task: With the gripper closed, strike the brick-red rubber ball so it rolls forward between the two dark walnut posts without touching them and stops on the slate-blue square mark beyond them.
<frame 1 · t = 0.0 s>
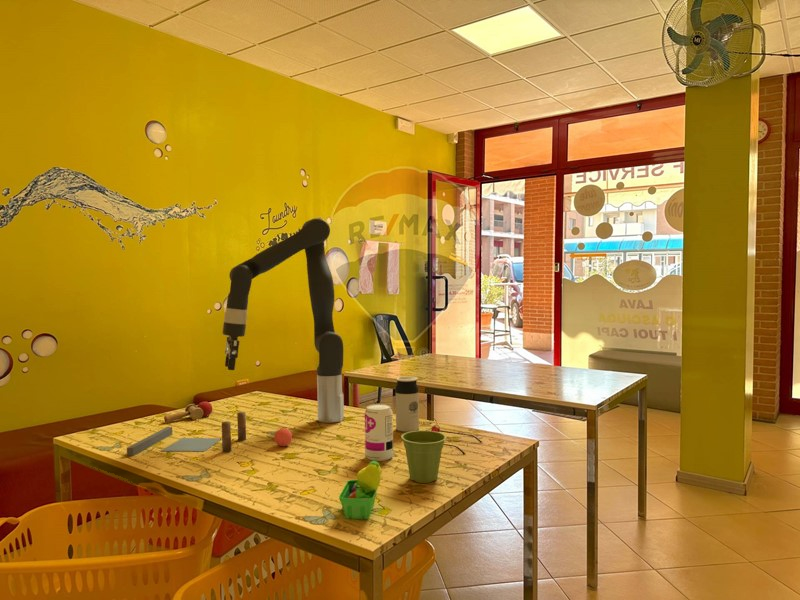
hand: (229, 368, 194), 22 cm above the table, tool pointing down, fingers open, 8 cm apart
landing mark: (192, 444, 180), on the table
gate post 1: (226, 451, 172), on the table
glasses: (450, 447, 175), on the table
supplement can: (379, 458, 164), on the table
ball: (283, 437, 177), on the table
fruit basket: (362, 511, 126), on the table
plant pot: (424, 479, 146), on the table
gate post 2: (242, 439, 185), on the table
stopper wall: (151, 444, 181), on the table
kendama: (189, 420, 214), on the table
travel mug: (407, 429, 195), on the table
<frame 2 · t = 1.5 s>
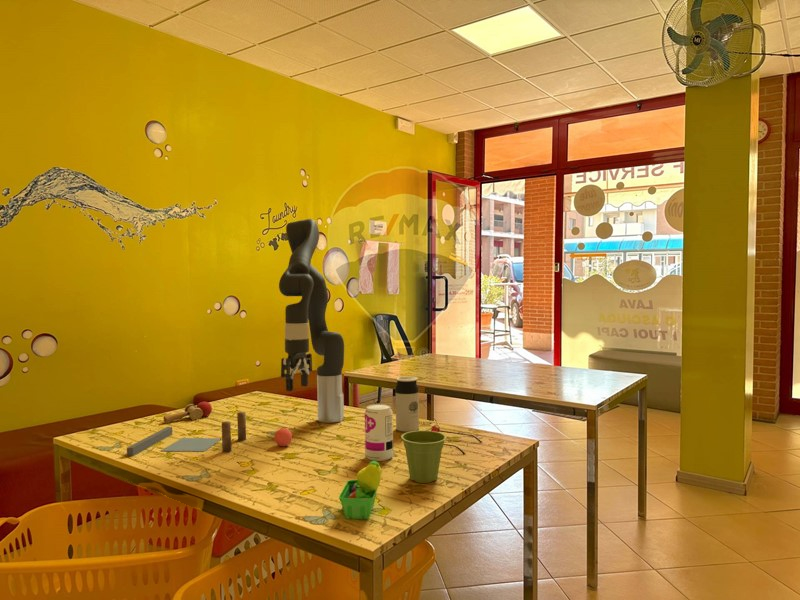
hand: (297, 388, 176), 18 cm above the table, tool pointing down, fingers open, 8 cm apart
nothing on the table moved.
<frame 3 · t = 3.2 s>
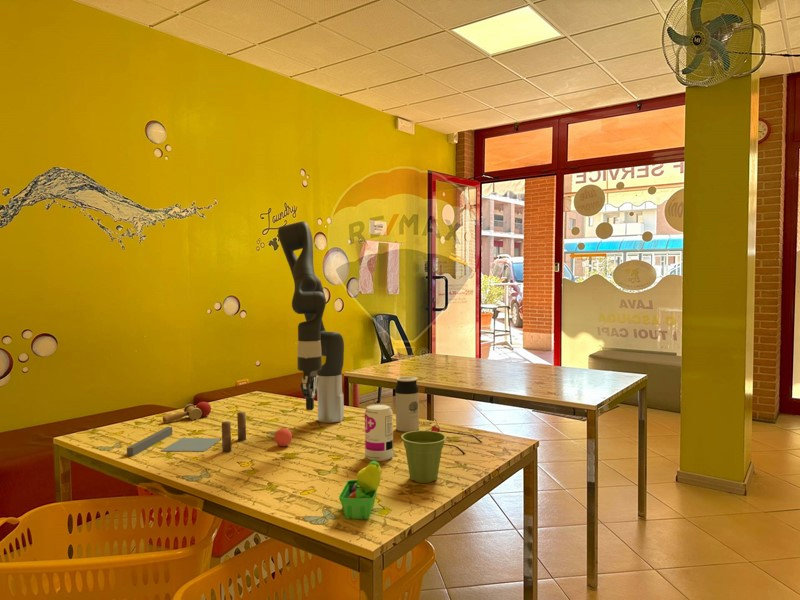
hand: (310, 409, 176), 12 cm above the table, tool pointing down, fingers closed
nothing on the table moved.
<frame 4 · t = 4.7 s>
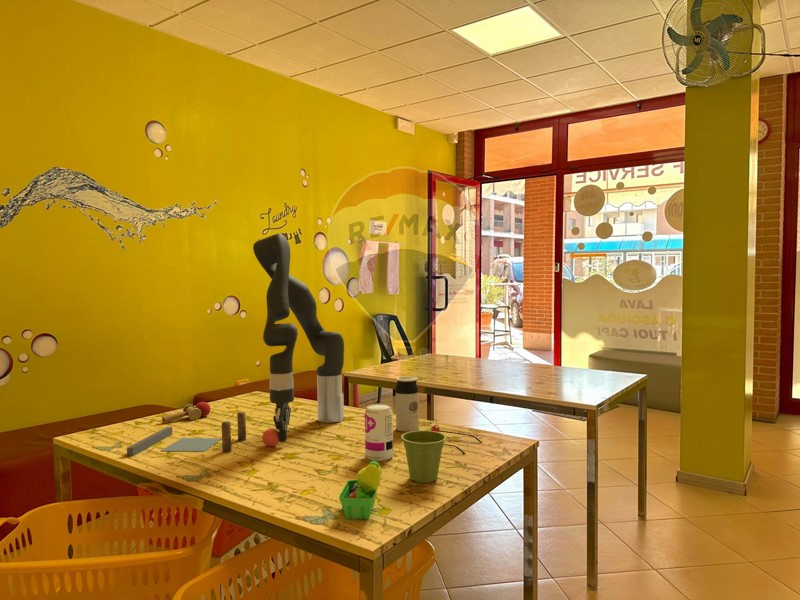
hand: (283, 441, 176), 2 cm above the table, tool pointing down, fingers closed
ball: (271, 437, 177), on the table, touching gripper
everything else where it was.
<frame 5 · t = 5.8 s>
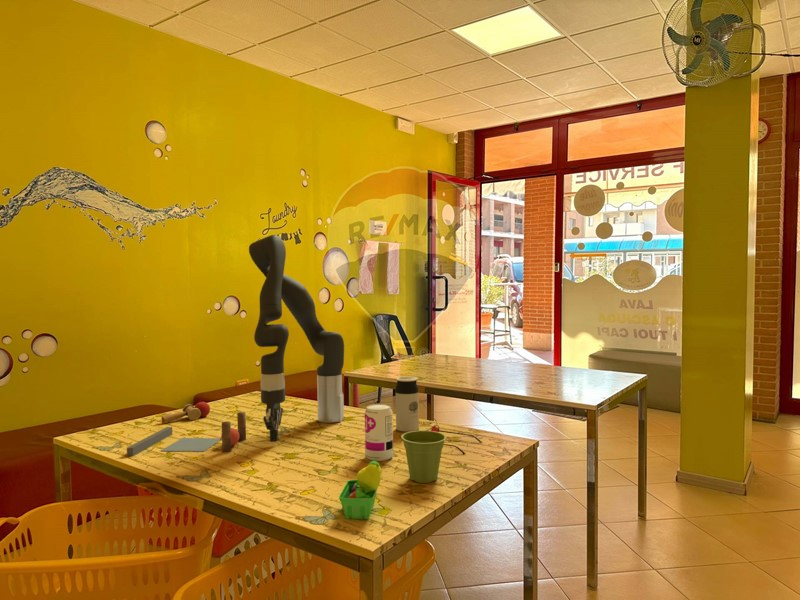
hand: (274, 441, 177), 1 cm above the table, tool pointing down, fingers closed
ball: (230, 436, 178), on the table
everything else where it was.
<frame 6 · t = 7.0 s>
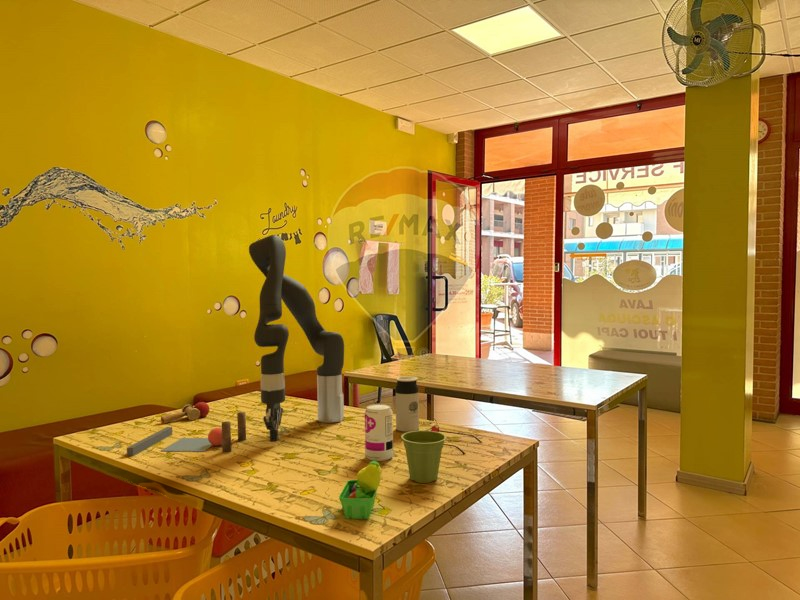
hand: (274, 441, 177), 1 cm above the table, tool pointing down, fingers closed
ball: (217, 436, 179), on the table
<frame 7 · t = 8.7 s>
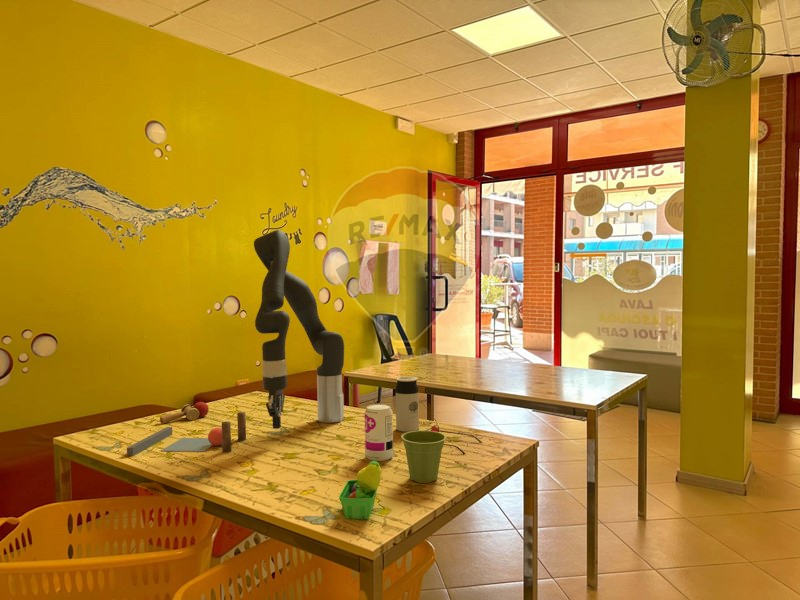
hand: (276, 427, 177), 6 cm above the table, tool pointing down, fingers closed
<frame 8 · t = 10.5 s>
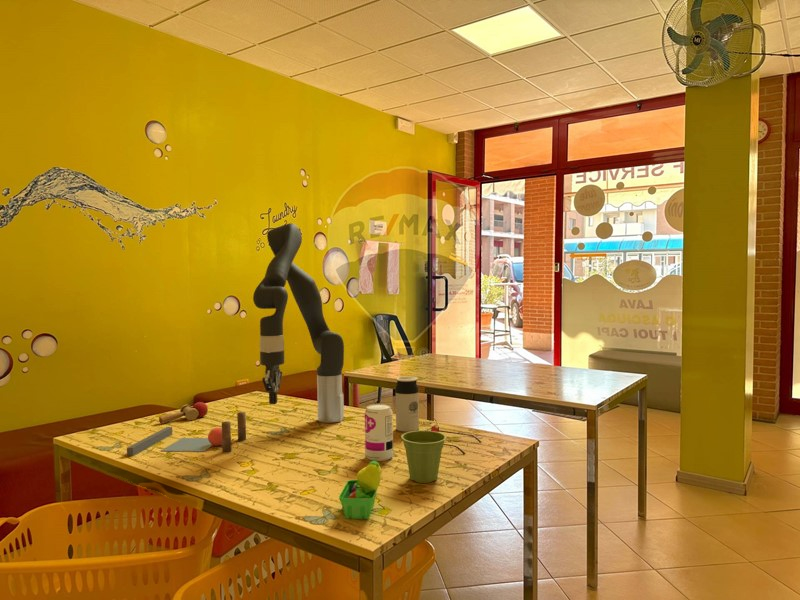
hand: (273, 403, 177), 13 cm above the table, tool pointing down, fingers closed
at the end: ball 8.4 cm from the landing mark (horizontally); ball never touched gate post 1; ball never touched gate post 2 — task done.
